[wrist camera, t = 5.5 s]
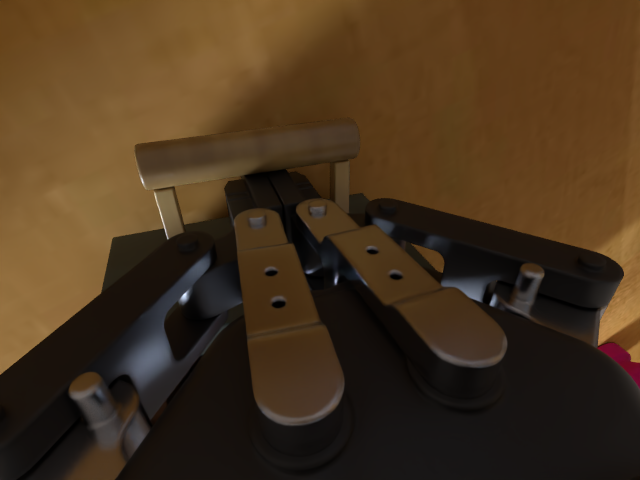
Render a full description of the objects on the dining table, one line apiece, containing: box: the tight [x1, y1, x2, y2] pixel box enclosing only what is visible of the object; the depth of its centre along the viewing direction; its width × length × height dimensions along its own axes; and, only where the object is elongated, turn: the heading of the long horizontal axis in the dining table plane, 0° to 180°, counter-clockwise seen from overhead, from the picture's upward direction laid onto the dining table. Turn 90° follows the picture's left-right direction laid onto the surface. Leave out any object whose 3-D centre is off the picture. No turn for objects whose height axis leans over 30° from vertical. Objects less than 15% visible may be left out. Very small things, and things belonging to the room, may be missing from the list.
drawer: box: [101, 118, 437, 425], centre depth 19 cm, size 22×13×7 cm, turn 2°
